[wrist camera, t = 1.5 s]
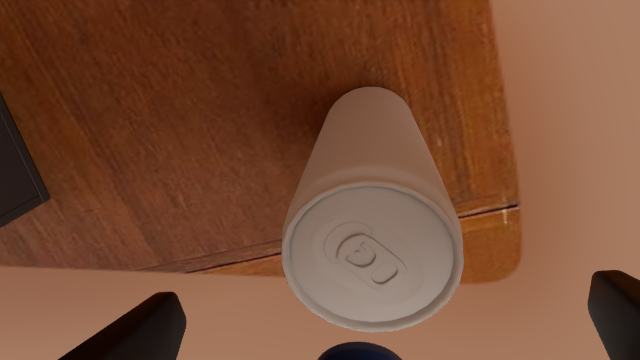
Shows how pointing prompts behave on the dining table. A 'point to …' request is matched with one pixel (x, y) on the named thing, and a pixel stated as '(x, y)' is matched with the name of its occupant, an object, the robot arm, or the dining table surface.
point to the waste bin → (16, 173)
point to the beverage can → (372, 220)
